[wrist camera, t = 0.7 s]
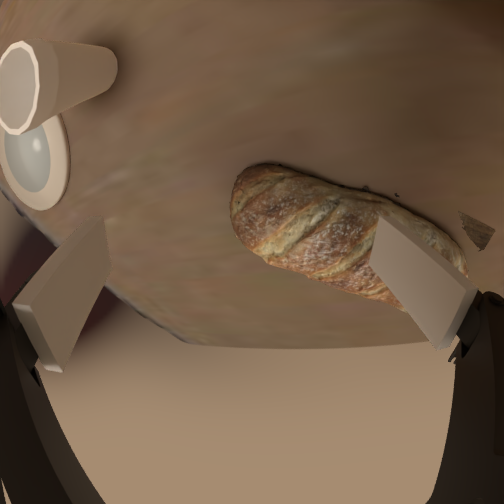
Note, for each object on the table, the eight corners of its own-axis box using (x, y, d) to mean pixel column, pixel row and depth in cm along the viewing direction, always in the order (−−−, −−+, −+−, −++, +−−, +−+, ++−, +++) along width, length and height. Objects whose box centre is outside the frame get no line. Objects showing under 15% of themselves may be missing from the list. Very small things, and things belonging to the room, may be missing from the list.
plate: (2, 84, 28) (-4, 86, 27) (74, 90, 28) (67, 91, 27) (6, 189, 41) (1, 191, 40) (72, 223, 41) (67, 227, 40)
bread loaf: (214, 260, 40) (191, 311, 32) (212, 133, 29) (174, 164, 21) (447, 298, 35) (462, 349, 28) (499, 196, 24) (537, 241, 17)
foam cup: (139, 78, 26) (51, 95, 15) (91, 119, 30) (12, 152, 19) (109, 21, 22) (23, 21, 11) (65, 66, 26) (-14, 85, 15)
